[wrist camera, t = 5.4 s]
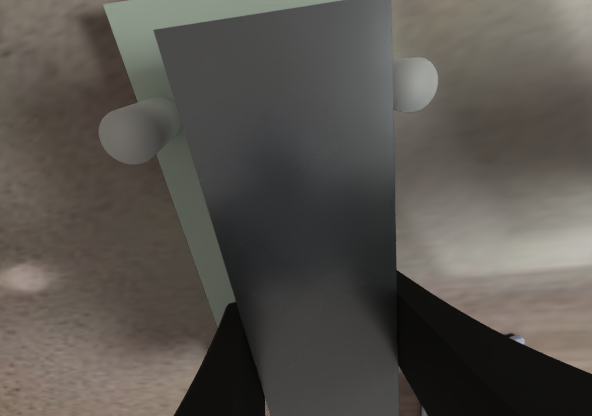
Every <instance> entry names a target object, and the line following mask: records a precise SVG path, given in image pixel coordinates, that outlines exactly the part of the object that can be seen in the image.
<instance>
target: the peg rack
mask: <svg viewBox="0 0 592 416" xmlns="http://www.w3.org/2000/svg"><path fill="white" fill-rule="evenodd" d="M335 1H341V0H128V1H122V2H115V3H108V4H103V6H104V9H105V11H106V14H107V17H108V20H109V23H110V26H111V28H112V31H113V34H114V37H115V40H116V42H117V45H118V48H119V51H120V54H121V57H122V59H123V62H124V65H125V68H126V71H127V73H128V76H129V79H130V82H131V85H132V88H133V90H134V93H135V96H136V99H137V102H138V103H135V104H132V105H128V106H125V107H122V108H119V109H116V110H113V111H111V112H109V113H108V114H107V115H105V116H104V118H103V119H102V121H101V123H100V125H99V139H100V142H101V144H102V146H103V148H104V149H105V150H106V152H107V153H108V154H109V155H110V156H112V157H113V158H114V159H116V160H118V161H120V162H122V163H125V164H131V165H138V164H143V163H145V162H147V161H149V160H150V159H152V158H153V157H154V156H155V155H157V158H158V161H159V164H160V167H161V169H162V172H163V175H164V178H165V181H166V184H167V186H168V189H169V192H170V195H171V198H172V200H173V203H174V206H175V209H176V212H177V215H178V217H179V220H180V223H181V226H182V229H183V231H184V234H185V237H186V240H187V243H188V246H189V248H190V251H191V254H192V257H193V260H194V263H195V265H196V268H197V271H198V274H199V277H200V279H201V282H202V285H203V288H204V291H205V294H206V296H207V299H208V302H209V305H210V308H211V311H212V313H213V316H214V319H215V322H216V325H217V327H219V324H220V322H221V319H222V316H223V314H224V311H225V308H226V306H227V305H228V304H229V303H233V302H236V300H235V297H234V294H233V290H232V287H231V284H230V281H229V277H228V274H227V271H226V267H225V264H224V261H223V258H222V254H221V251H220V248H219V244H218V241H217V238H216V235H215V231H214V228H213V225H212V221H211V218H210V215H209V212H208V208H207V205H206V202H205V198H204V195H203V192H202V189H201V185H200V182H199V179H198V175H197V172H196V169H195V166H194V162H193V159H192V156H191V152H190V149H189V146H188V143H187V139H186V136H185V133H184V129H183V126H182V123H181V120H180V116H179V113H178V110H177V106H176V103H175V100H174V97H173V93H172V90H171V87H170V83H169V80H168V77H167V74H166V70H165V67H164V64H163V61H162V57H161V54H160V51H159V47H158V44H157V41H156V38H155V34H154V31H153V30H155V29H162V28H168V27H175V26H181V25H188V24H194V23H200V22H207V21H213V20H220V19H226V18H232V17H239V16H245V15H252V14H258V13H264V12H271V11H277V10H284V9H290V8H297V7H303V6H309V5H316V4H322V3H329V2H335ZM392 67H393V109H394V110H398V111H401V112H406V113H413V112H417V111H419V110H421V109H423V108H424V107H426V106H427V105H428V104H429V103H430V102H431V100H432V99H433V97H434V95H435V93H436V90H437V86H438V75H437V71H436V69H435V67H434V65H433V64H432V63H431V62H430V61H429V60H427V59H425V58H421V57H412V58H397V59H392Z"/></svg>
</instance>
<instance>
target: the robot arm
mask: <svg viewBox="0 0 592 416" xmlns="http://www.w3.org/2000/svg"><path fill="white" fill-rule="evenodd" d="M396 276H397V328H398V365H399V367H400V368H401V370H402V372H403V374H404V375H405V377H406V379H407V381H408V382H409V384H410V386H411V388H412V389H413V391H414V393H415V394H416V396H417V398H418V400H419V401H420V403H421V405H422V413H421V416H592V374H590V373H588V372H585V371H583V370H581V369H578V368H576V367H573V366H571V365H569V364H566V363H564V362H561V361H559V360H557V359H554V358H552V357H550V356H547V355H545V354H543V353H541V352H538V351H536V350H534V349H532V348H530V347H528V346H526V345H524V339H523V338H522V337H521V336H519V335H515V336H511V337H507V336H505V335H503V334H501V333H499V332H497V331H495V330H493V329H491V328H489V327H487V326H486V325H484V324H482V323H480V322H479V321H477V320H475V319H473V318H471V317H470V316H468V315H466V314H464V313H463V312H461V311H459V310H458V309H456V308H454V307H452V306H451V305H449V304H448V303H446V302H444V301H443V300H441V299H440V298H438V297H436V296H435V295H433V294H432V293H430V292H429V291H427V290H426V289H424V288H423V287H421V286H420V285H418V284H417V283H415V282H414V281H412V280H411V279H409V278H408V277H406V276H405V275H403V274H402V273H400V272H399V271H397V270H396ZM174 416H265V395H264V392H263V389H262V386H261V382H260V379H259V376H258V372H257V369H256V366H255V363H254V359H253V356H252V353H251V349H250V346H249V343H248V340H247V336H246V333H245V330H244V326H243V323H242V320H241V317H240V313H239V310H238V307H237V303H236V302H233V303H229V304H228V305H227V306H226V308H225V311H224V314H223V316H222V319H221V322H220V324H219V327H218V329H217V331H216V334H215V336H214V338H213V341H212V343H211V345H210V347H209V349H208V351H207V354H206V356H205V358H204V360H203V362H202V364H201V366H200V368H199V370H198V372H197V374H196V376H195V378H194V380H193V382H192V384H191V385H190V387H189V389H188V391H187V393H186V395H185V397H184V399H183V400H182V402H181V404H180V406H179V407H178V409H177V411H176V413H175V414H174Z"/></svg>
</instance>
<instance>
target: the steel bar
mask: <svg viewBox="0 0 592 416" xmlns="http://www.w3.org/2000/svg"><path fill="white" fill-rule="evenodd" d="M153 31H154V34H155V38H156V41H157V44H158V47H159V51H160V54H161V57H162V61H163V64H164V67H165V70H166V74H167V77H168V80H169V83H170V87H171V90H172V93H173V97H174V100H175V103H176V106H177V110H178V113H179V116H180V120H181V123H182V126H183V129H184V133H185V136H186V139H187V143H188V146H189V149H190V152H191V156H192V159H193V162H194V166H195V169H196V172H197V175H198V179H199V182H200V185H201V189H202V192H203V195H204V198H205V202H206V205H207V208H208V212H209V215H210V218H211V221H212V225H213V228H214V231H215V235H216V238H217V241H218V244H219V248H220V251H221V254H222V258H223V261H224V264H225V267H226V271H227V274H228V277H229V281H230V284H231V287H232V290H233V294H234V297H235V300H236V303H237V307H238V310H239V313H240V317H241V320H242V323H243V326H244V330H245V333H246V336H247V340H248V343H249V346H250V349H251V353H252V356H253V359H254V363H255V366H256V369H257V372H258V376H259V379H260V382H261V386H262V389H263V392H264V395H265V399H266V402H267V405H268V409H269V412H270V415H271V416H399V380H398V328H397V276H396V224H395V171H394V119H393V67H392V15H391V0H341V1H335V2H329V3H322V4H316V5H309V6H303V7H297V8H290V9H284V10H277V11H271V12H264V13H258V14H252V15H245V16H239V17H232V18H226V19H220V20H213V21H207V22H200V23H194V24H188V25H181V26H175V27H168V28H162V29H155V30H153Z"/></svg>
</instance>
